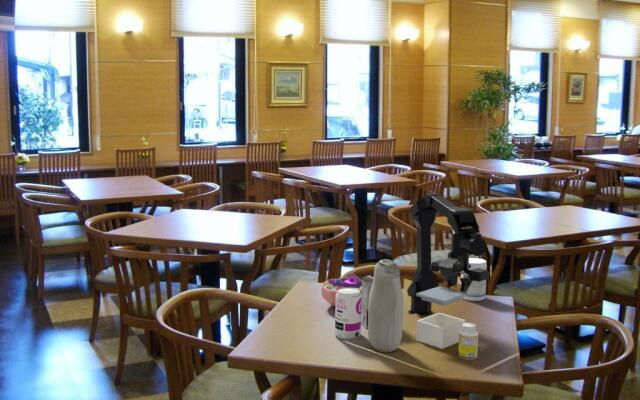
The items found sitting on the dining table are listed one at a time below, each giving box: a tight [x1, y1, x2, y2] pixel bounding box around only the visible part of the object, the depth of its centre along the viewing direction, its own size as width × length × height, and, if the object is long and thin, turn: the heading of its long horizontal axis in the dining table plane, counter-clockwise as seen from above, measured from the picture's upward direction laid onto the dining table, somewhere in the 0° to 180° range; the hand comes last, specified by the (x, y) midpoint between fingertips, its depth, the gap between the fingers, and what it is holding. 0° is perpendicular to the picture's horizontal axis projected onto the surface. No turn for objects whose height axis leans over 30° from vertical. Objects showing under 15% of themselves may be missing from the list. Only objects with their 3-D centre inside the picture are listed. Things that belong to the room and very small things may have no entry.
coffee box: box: [361, 276, 374, 330], centre depth 240 cm, size 9×6×16 cm
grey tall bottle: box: [367, 258, 405, 353], centre depth 216 cm, size 10×10×28 cm
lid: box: [416, 283, 468, 307], centre depth 226 cm, size 11×17×3 cm, turn 135°
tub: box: [415, 312, 467, 350], centre depth 226 cm, size 10×12×7 cm
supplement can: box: [334, 288, 362, 340], centre depth 229 cm, size 8×8×15 cm
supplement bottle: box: [457, 322, 479, 360], centre depth 213 cm, size 6×6×10 cm
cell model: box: [321, 273, 362, 308], centre depth 261 cm, size 17×20×11 cm
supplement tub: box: [460, 257, 488, 302], centre depth 274 cm, size 10×10×15 cm
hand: (457, 296), depth 231 cm, fingers closed on lid, 3 cm apart
